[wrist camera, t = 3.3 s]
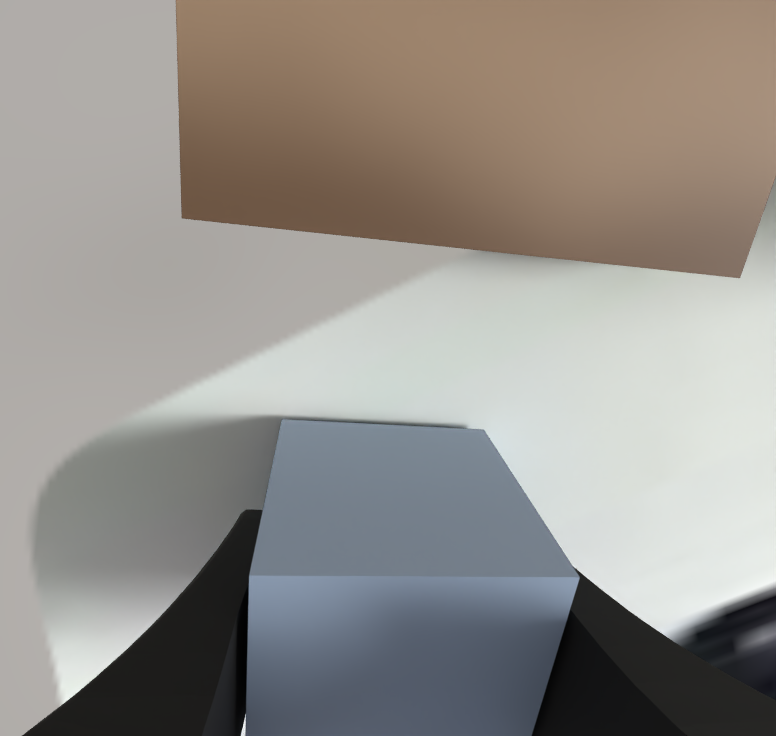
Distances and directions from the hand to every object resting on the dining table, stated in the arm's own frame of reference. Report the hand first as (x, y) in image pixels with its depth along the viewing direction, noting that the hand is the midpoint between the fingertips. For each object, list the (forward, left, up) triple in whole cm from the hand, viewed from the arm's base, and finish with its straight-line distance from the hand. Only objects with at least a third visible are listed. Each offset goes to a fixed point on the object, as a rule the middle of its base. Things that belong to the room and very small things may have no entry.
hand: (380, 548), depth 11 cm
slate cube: (0, 0, -1) cm, 1 cm away
